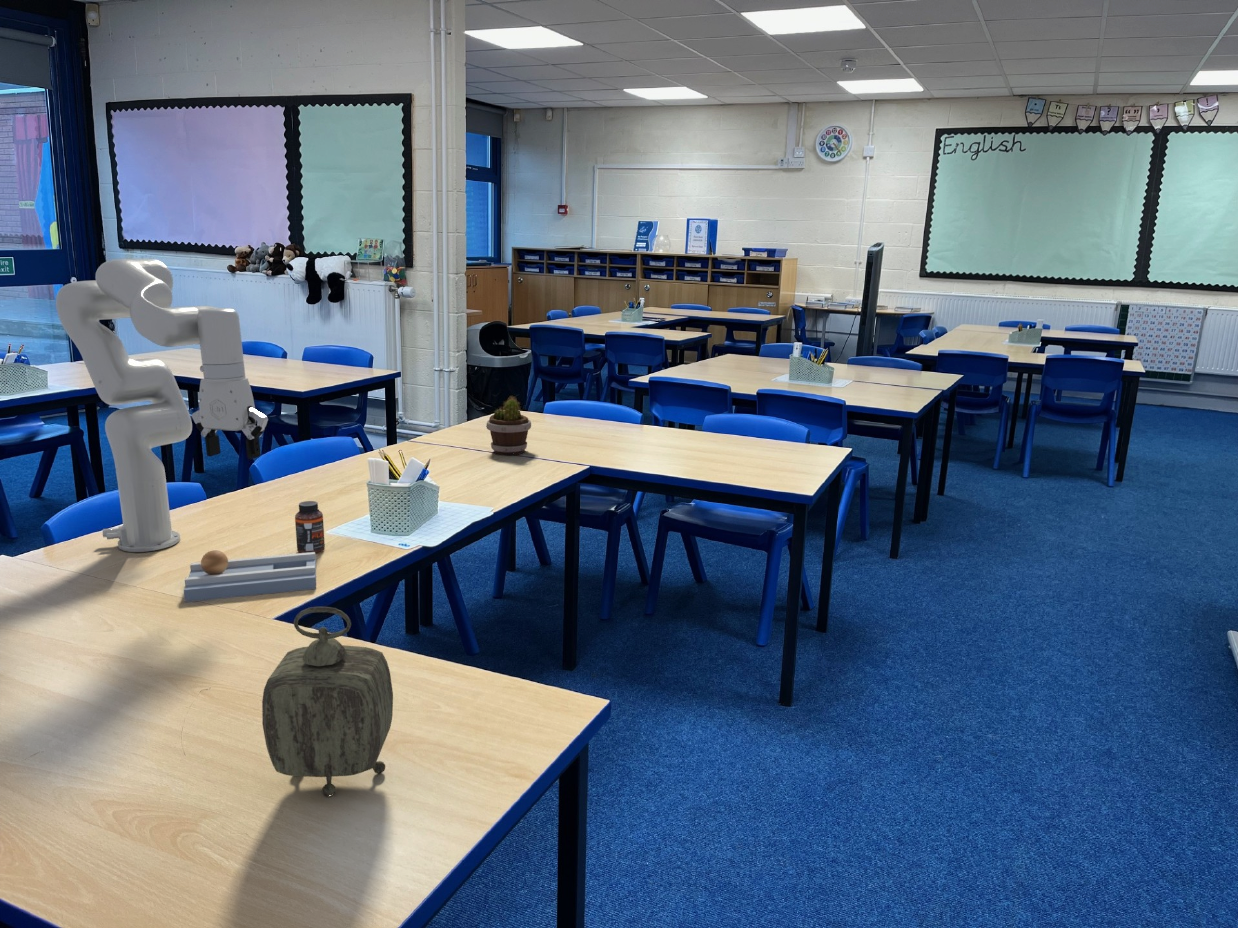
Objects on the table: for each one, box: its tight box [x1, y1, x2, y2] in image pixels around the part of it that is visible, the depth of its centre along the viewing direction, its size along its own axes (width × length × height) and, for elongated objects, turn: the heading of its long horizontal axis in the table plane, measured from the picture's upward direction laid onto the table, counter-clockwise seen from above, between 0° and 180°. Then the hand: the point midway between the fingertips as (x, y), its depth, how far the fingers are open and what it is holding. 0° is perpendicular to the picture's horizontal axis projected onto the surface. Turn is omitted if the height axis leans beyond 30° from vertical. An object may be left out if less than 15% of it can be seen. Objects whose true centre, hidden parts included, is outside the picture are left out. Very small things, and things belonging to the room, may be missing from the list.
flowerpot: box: [485, 395, 532, 456], centre depth 288 cm, size 14×15×20 cm
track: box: [183, 552, 317, 603], centre depth 178 cm, size 24×14×4 cm, turn 109°
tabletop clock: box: [261, 606, 394, 797], centre depth 110 cm, size 14×9×25 cm, turn 92°
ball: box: [200, 549, 229, 575], centre depth 175 cm, size 5×5×5 cm
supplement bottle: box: [294, 500, 326, 555], centre depth 196 cm, size 6×6×11 cm
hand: (233, 456), depth 176 cm, fingers open, 9 cm apart
